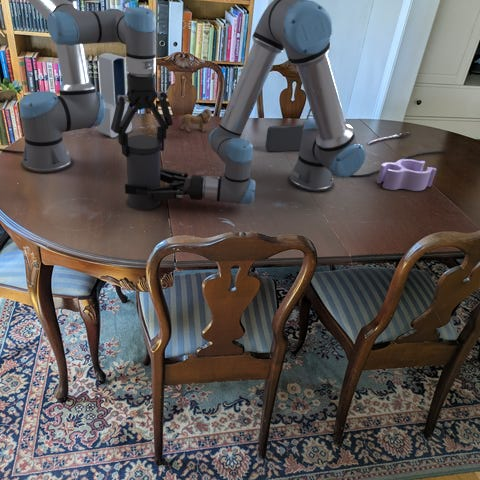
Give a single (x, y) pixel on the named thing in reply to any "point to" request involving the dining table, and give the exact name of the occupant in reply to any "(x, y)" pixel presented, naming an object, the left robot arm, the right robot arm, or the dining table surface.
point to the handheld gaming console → (284, 137)
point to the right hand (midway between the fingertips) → (129, 181)
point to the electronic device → (112, 89)
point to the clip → (406, 175)
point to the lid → (144, 144)
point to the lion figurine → (196, 119)
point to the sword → (386, 138)
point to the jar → (143, 177)
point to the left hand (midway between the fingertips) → (143, 152)
